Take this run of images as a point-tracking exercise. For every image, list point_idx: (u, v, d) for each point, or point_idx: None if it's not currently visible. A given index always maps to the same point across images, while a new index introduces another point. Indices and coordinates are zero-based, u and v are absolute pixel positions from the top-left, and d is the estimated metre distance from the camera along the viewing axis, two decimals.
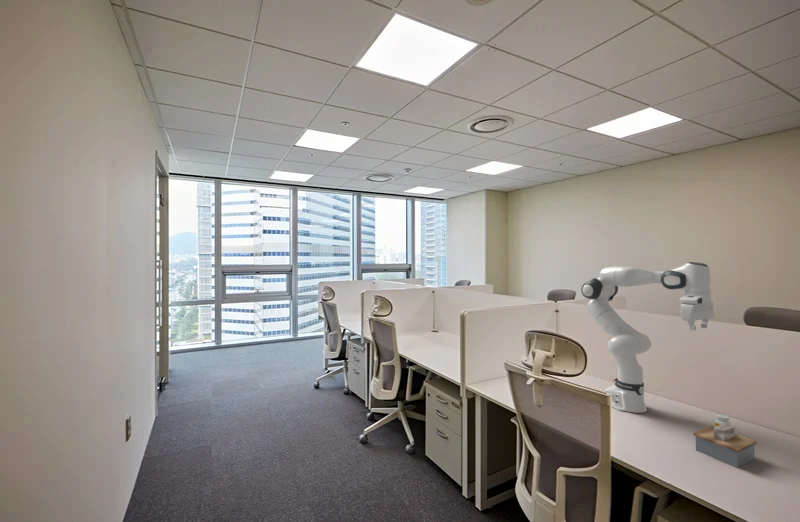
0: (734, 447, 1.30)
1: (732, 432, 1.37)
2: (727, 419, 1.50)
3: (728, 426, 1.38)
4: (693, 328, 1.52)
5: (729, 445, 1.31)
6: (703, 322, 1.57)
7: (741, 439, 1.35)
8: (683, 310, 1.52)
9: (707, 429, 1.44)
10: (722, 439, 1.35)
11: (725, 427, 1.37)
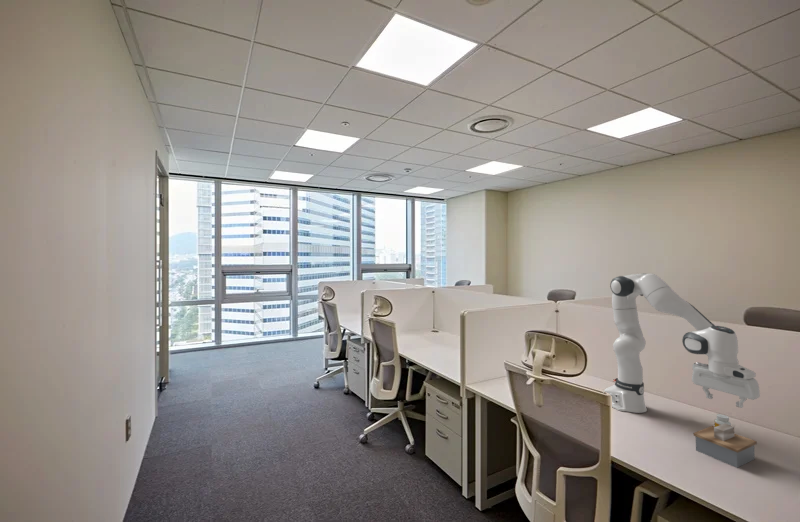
0: (734, 447, 1.30)
1: (732, 432, 1.37)
2: (727, 419, 1.50)
3: (728, 426, 1.38)
4: (742, 404, 1.33)
5: (729, 445, 1.31)
6: (707, 392, 1.42)
7: (741, 439, 1.35)
8: (755, 388, 1.28)
9: (707, 429, 1.44)
10: (722, 439, 1.35)
11: (725, 427, 1.37)
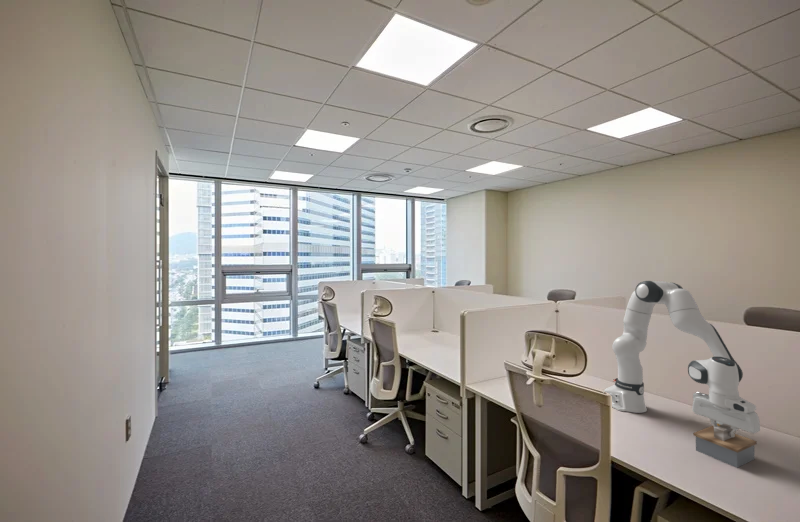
0: (734, 447, 1.30)
1: None
2: None
3: (728, 426, 1.38)
4: (734, 434, 1.35)
5: (729, 445, 1.32)
6: (715, 425, 1.40)
7: (741, 439, 1.36)
8: (755, 422, 1.28)
9: (707, 429, 1.44)
10: (722, 439, 1.35)
11: (725, 427, 1.37)
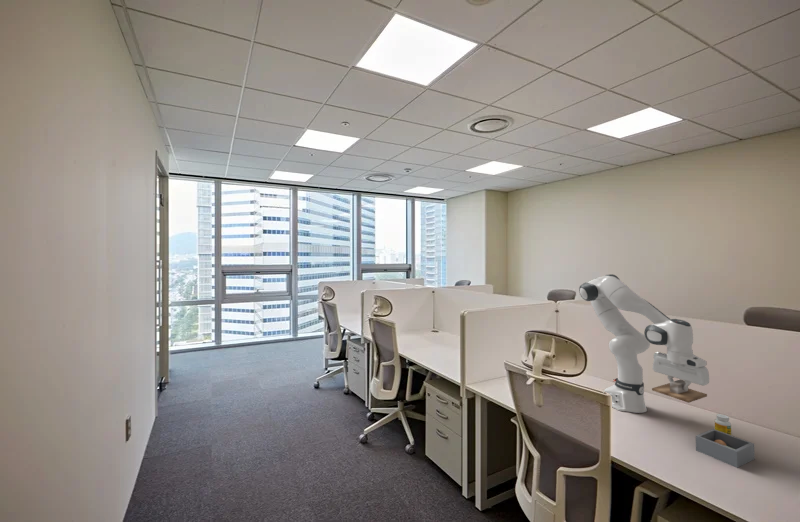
0: (686, 398, 1.44)
1: None
2: (727, 419, 1.50)
3: (683, 381, 1.52)
4: (687, 388, 1.49)
5: (682, 397, 1.46)
6: (671, 380, 1.54)
7: (693, 392, 1.50)
8: (705, 375, 1.42)
9: (665, 385, 1.58)
10: (676, 392, 1.49)
11: (680, 382, 1.51)
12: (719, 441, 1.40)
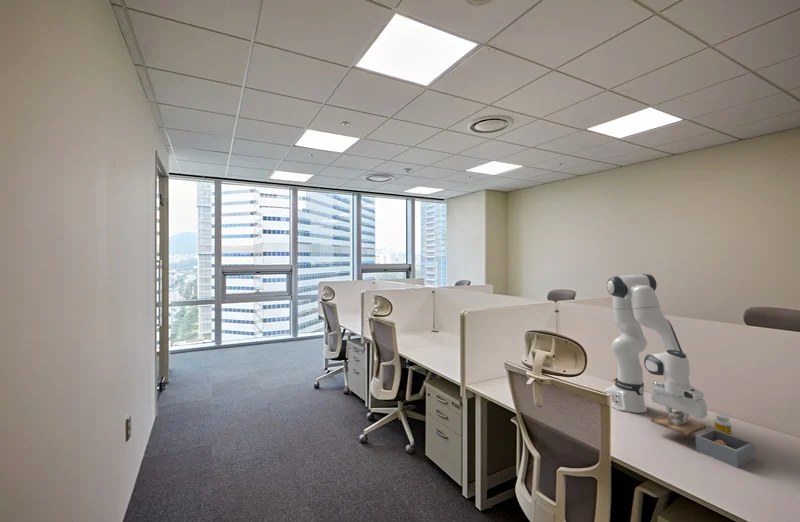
0: (684, 431, 1.44)
1: None
2: (727, 419, 1.50)
3: (681, 412, 1.52)
4: (686, 419, 1.49)
5: (680, 429, 1.46)
6: (670, 411, 1.54)
7: (692, 424, 1.50)
8: (702, 407, 1.42)
9: (664, 416, 1.58)
10: (675, 424, 1.49)
11: (678, 413, 1.52)
12: (719, 441, 1.40)
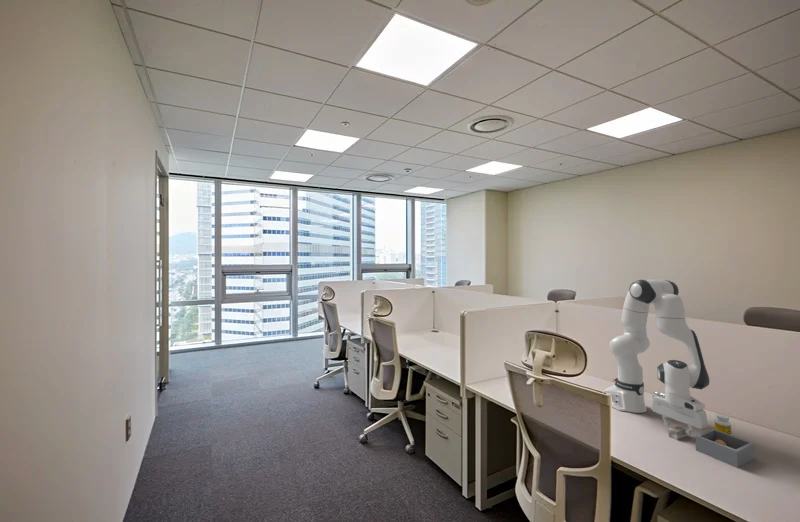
0: None
1: (685, 433, 1.52)
2: (727, 419, 1.50)
3: (682, 428, 1.52)
4: (691, 432, 1.48)
5: None
6: (666, 420, 1.56)
7: None
8: (702, 419, 1.43)
9: None
10: None
11: (679, 428, 1.52)
12: (719, 441, 1.40)
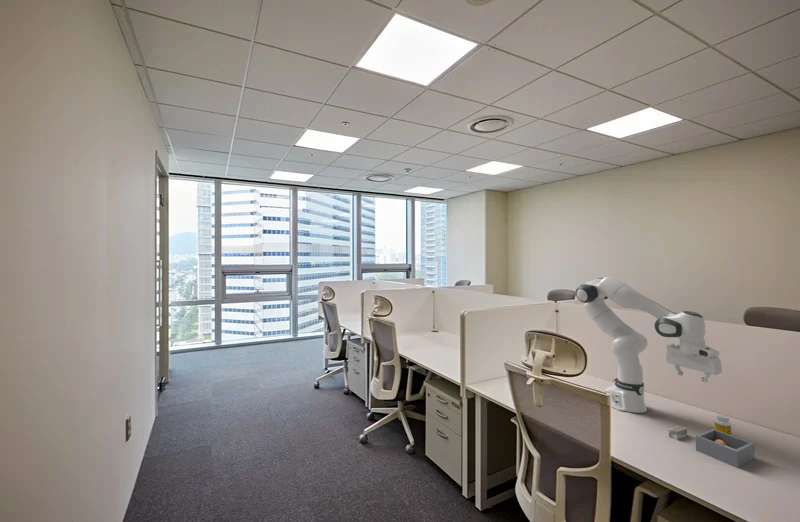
0: None
1: (685, 433, 1.52)
2: (727, 419, 1.50)
3: (681, 428, 1.53)
4: (707, 380, 1.51)
5: None
6: (678, 369, 1.60)
7: None
8: (717, 365, 1.46)
9: None
10: None
11: (679, 428, 1.52)
12: (719, 441, 1.40)
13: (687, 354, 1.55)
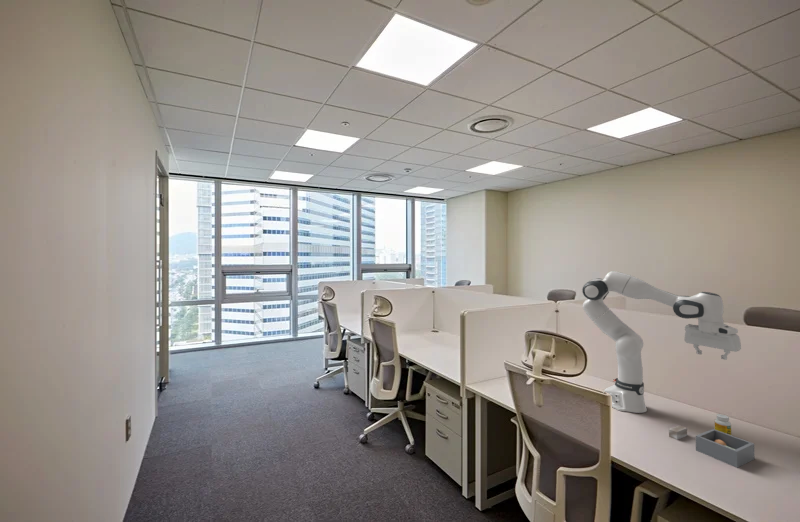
0: None
1: (685, 433, 1.52)
2: (727, 419, 1.50)
3: (682, 428, 1.53)
4: (726, 357, 1.56)
5: None
6: (697, 349, 1.65)
7: None
8: (736, 341, 1.51)
9: None
10: None
11: (679, 428, 1.52)
12: (719, 441, 1.40)
13: (706, 333, 1.60)
